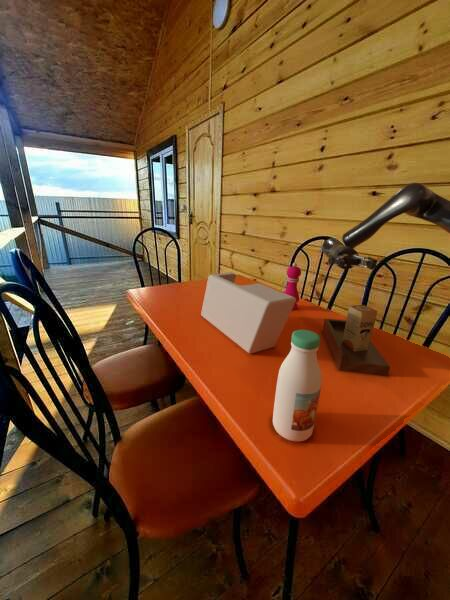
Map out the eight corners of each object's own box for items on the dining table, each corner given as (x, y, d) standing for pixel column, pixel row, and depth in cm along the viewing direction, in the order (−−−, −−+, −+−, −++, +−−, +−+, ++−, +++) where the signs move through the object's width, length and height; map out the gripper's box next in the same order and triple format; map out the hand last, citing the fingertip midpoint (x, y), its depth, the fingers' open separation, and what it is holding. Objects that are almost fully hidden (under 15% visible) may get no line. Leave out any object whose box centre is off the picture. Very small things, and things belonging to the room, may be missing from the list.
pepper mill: (280, 309, 110) (285, 263, 104) (282, 303, 117) (286, 260, 110) (297, 311, 108) (303, 265, 102) (298, 305, 115) (304, 262, 108)
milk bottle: (272, 439, 47) (284, 343, 40) (271, 409, 54) (281, 323, 47) (316, 446, 46) (335, 348, 39) (308, 414, 53) (324, 327, 46)
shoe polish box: (341, 343, 76) (349, 305, 72) (355, 341, 78) (363, 304, 74) (353, 351, 72) (362, 312, 68) (368, 349, 73) (377, 311, 69)
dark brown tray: (358, 334, 89) (361, 321, 87) (387, 376, 66) (392, 359, 65) (322, 331, 90) (324, 318, 89) (339, 370, 68) (342, 354, 66)
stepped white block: (264, 368, 85) (298, 298, 68) (239, 377, 80) (268, 304, 63) (222, 311, 105) (240, 245, 87) (200, 315, 100) (213, 246, 82)
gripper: (325, 245, 93) (335, 251, 77) (366, 247, 90) (386, 254, 75) (322, 265, 95) (331, 275, 80) (362, 268, 93) (380, 278, 78)
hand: (358, 265), depth 78 cm, fingers open, 8 cm apart
